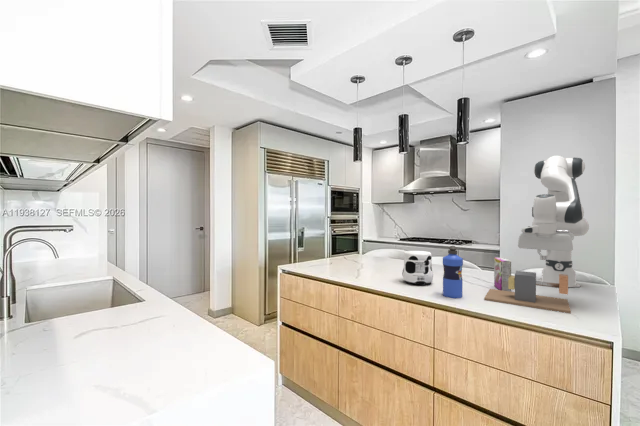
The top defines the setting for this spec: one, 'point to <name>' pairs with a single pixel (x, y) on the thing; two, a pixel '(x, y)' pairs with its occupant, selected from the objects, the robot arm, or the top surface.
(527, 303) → the bearing stand
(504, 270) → the candy bar box
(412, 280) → the milk container
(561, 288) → the shaft
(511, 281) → the spacer
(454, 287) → the water bottle
